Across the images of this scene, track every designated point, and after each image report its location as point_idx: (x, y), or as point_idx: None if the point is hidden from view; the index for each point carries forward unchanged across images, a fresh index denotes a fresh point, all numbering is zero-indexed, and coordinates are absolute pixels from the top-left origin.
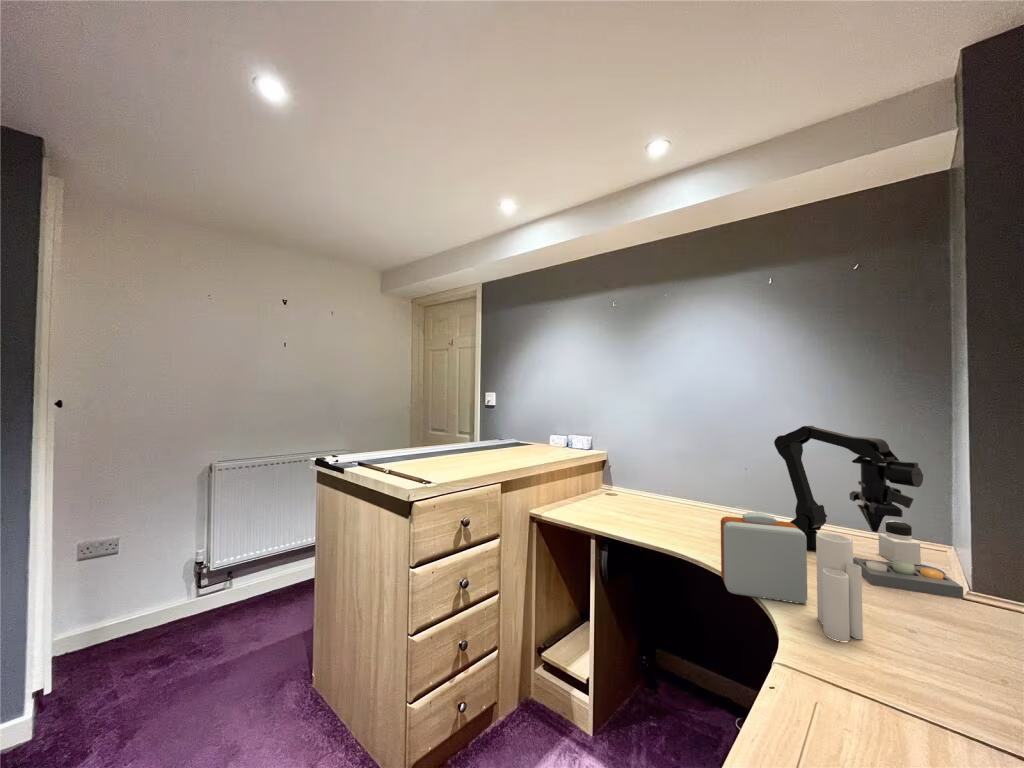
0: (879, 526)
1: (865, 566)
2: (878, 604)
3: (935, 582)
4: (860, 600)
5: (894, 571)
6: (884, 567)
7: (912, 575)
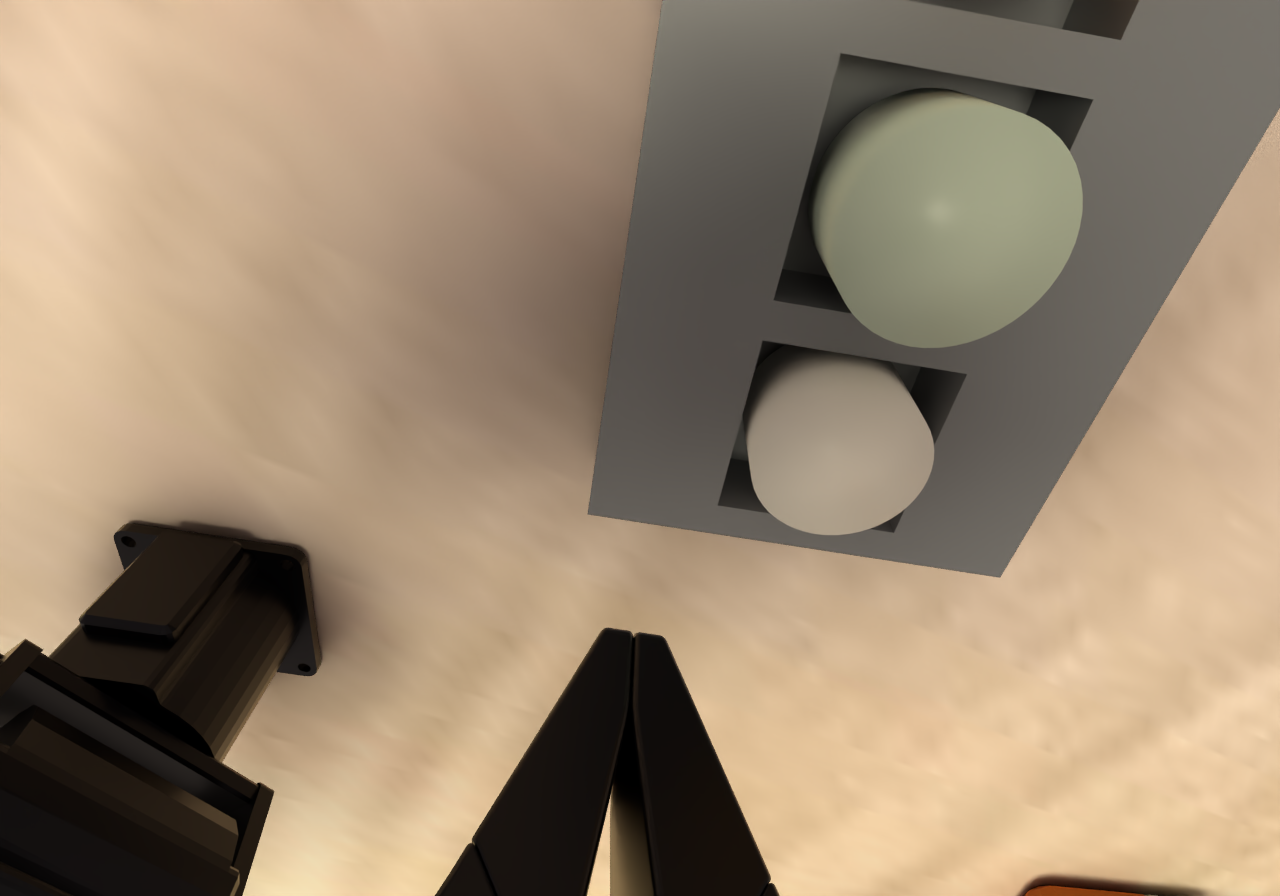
0: (717, 757)
1: None
2: (1273, 627)
3: None
4: None
5: None
6: (931, 438)
7: None
